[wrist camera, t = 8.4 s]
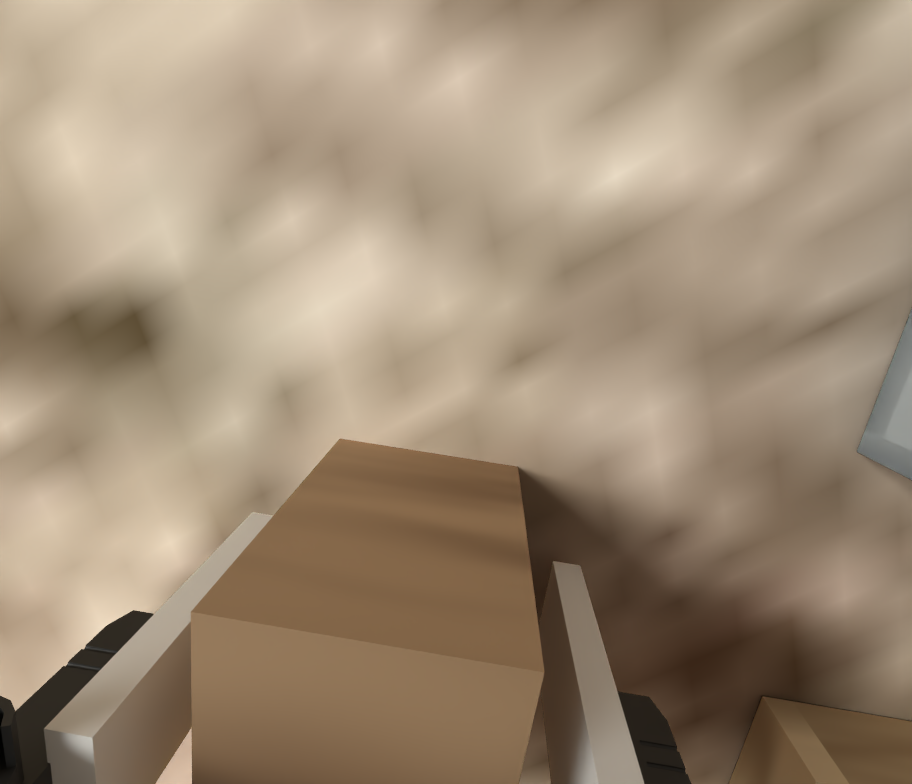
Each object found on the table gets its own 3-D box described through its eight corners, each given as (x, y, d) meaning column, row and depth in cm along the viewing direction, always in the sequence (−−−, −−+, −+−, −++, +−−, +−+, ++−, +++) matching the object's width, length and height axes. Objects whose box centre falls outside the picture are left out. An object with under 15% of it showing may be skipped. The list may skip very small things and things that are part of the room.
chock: (340, 438, 14) (190, 611, 7) (517, 466, 13) (544, 672, 7) (321, 667, 16) (193, 973, 9) (475, 694, 16) (462, 1027, 9)
